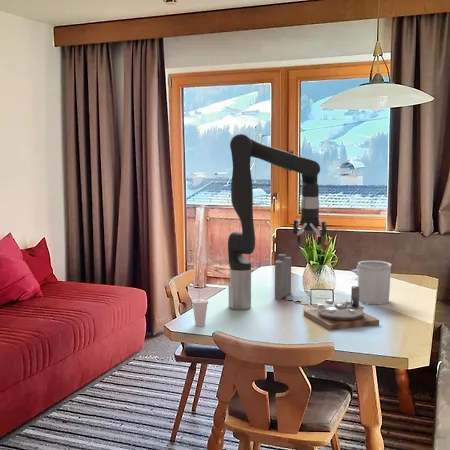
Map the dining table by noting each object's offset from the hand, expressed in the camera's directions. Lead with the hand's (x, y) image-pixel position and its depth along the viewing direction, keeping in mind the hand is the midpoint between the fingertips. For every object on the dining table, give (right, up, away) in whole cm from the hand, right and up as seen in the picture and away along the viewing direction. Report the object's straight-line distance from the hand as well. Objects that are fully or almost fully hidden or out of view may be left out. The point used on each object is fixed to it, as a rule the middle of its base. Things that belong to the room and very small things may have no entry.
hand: (309, 244), depth 250 cm
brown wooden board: (+10, -30, -15) cm, 35 cm away
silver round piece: (+10, -28, -16) cm, 33 cm away
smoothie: (-46, -31, -22) cm, 60 cm away
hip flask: (-9, -26, +25) cm, 37 cm away
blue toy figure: (+38, -21, +65) cm, 78 cm away
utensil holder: (+32, -27, +16) cm, 44 cm away
